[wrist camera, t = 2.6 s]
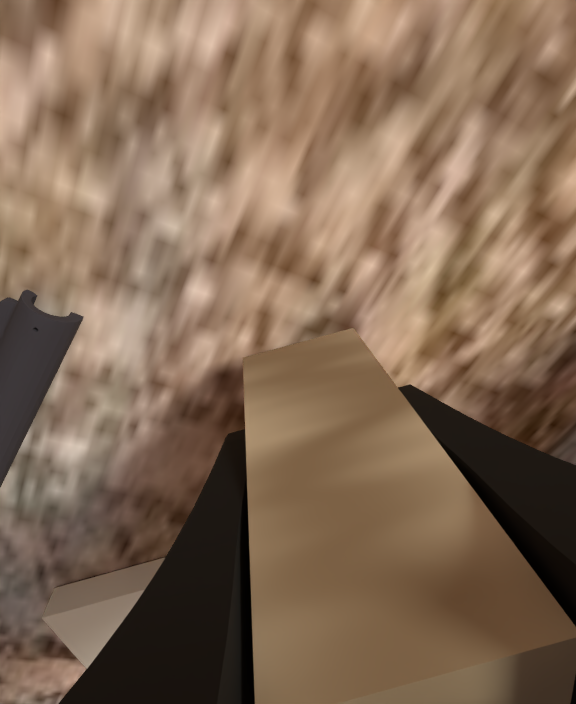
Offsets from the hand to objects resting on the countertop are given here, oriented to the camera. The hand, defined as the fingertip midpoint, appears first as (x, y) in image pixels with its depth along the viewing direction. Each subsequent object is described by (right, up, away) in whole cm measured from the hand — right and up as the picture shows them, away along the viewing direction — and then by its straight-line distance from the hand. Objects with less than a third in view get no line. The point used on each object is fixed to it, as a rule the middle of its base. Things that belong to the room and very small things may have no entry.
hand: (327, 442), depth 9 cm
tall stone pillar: (0, +1, +2) cm, 2 cm away
